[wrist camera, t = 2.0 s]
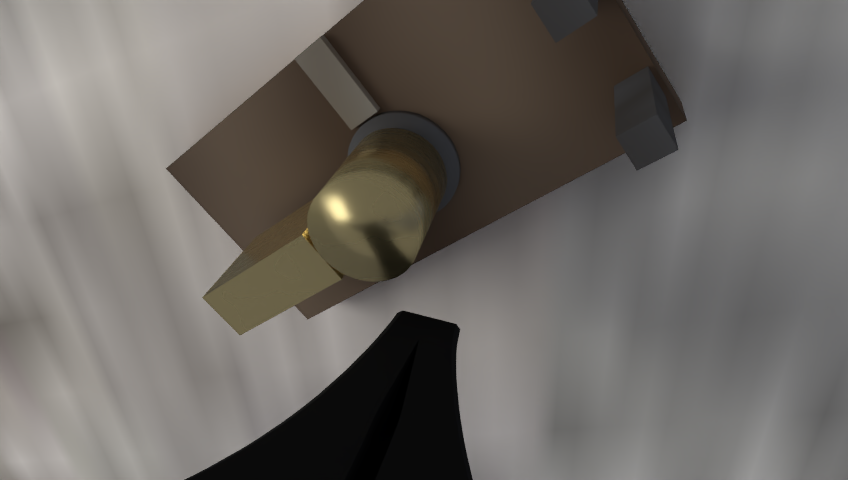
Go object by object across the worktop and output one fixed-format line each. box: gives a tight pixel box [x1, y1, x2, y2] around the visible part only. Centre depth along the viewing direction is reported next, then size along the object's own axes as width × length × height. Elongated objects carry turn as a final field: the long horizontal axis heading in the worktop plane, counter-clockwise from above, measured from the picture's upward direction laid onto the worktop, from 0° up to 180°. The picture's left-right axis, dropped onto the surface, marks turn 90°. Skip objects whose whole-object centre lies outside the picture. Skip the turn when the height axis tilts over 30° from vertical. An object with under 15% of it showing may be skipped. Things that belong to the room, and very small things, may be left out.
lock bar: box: [202, 128, 447, 335], centre depth 13 cm, size 6×2×2 cm, turn 129°
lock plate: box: [166, 0, 687, 319], centre depth 13 cm, size 11×6×4 cm, turn 129°
